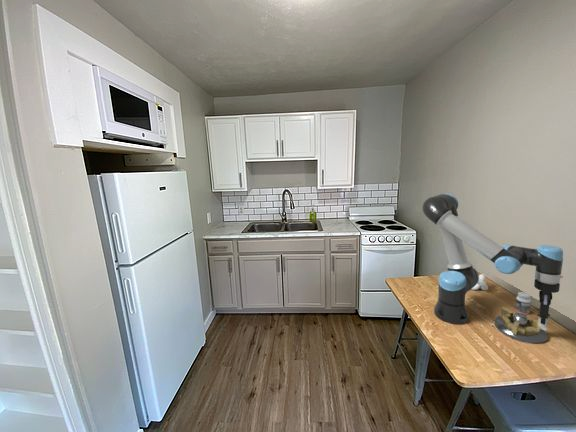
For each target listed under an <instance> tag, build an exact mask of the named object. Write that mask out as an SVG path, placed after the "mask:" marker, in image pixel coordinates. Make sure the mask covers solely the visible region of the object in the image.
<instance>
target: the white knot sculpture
mask: <svg viewBox="0 0 576 432" xmlns="http://www.w3.org/2000/svg"><path fill="white" fill-rule="evenodd" d="M479 289H481V290H482V291H487V290H488V289H489V285H488V284H487V282H486V275H485V274H483V273H481V274H479V281H478V282H477V284H476V285H475V286H474V287H473V288H472V289H470V290H473V291H477V290H479Z"/></svg>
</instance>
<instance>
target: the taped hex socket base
mask: <svg viewBox="0 0 576 432" xmlns="http://www.w3.org/2000/svg"><path fill="white" fill-rule="evenodd" d="M500 316H501V321H502V323H503V325H504V326H505V328H507V329H508V330H511V331H512V333H513V334H515V335H516V334H517V333H519V334H521V335H526V336H531V335H538V334H539V333H540V330H541V329H540V327H539V326H538V320H539V319H535V318H530V317H528V319H527V325H529V327H521V326H520V323H519V322H517V321H515V322H514V324H513V323H511V322H510V321H513V319H514V312H513V311H511V310H510V309H507V308H506V307H501V309H500ZM544 331H545V330H544Z"/></svg>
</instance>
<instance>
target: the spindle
mask: <svg viewBox="0 0 576 432" xmlns="http://www.w3.org/2000/svg"><path fill="white" fill-rule="evenodd" d="M513 313H514V312H513ZM528 318H529V317H528V316H527V314H522V313H519V312H515V313H514V319H513V324H514V322H515V321H517V322H519V323H520V326H521V327H527V319H528Z"/></svg>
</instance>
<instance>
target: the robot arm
mask: <svg viewBox="0 0 576 432" xmlns="http://www.w3.org/2000/svg"><path fill="white" fill-rule="evenodd" d="M458 208H459V201H458V199H457V197H455V196H454V195H452V194H450V193H440V194H437V195H434V196H430V197H428V198H427V199H426V200H424V202H423V204H422V213H423V214H424V216H425V217H426V218H427V219H428V220H430V221H431V223H434V225H436V226H438V227H439V228H438V229H439V231H440V235H441V238H442V241H443V242H442V243H443V245H444V248H445V254H446V256H447V259H448V263H447V265H446V267H447V270H446V271H442V272H441V273H440V274H439V276H438V280H437V281H438V299H437V301H436V303H435V305H434V309H433V314H434V315H435V317H437V318H438V319H439V320H440V321H443V322H446V323H448V324H452V325H463V324H467V322H468V321H469V313H468V311H467V307H466V305H465V304H466V294H467V293H468V292H469V291H470V290H471V289H472V288H473V287H474V286H475V285H476V284H477V282H478V281H479V275H480V274H479V273H478V271H477V270H476V268H474V267H473V264H472V263H471V262H469V261H468V258H467V254H466V251H465V248H464V243H465V244H467V245H468V246H469V247H471V248H473V249H474V250H475V251H476V252H478V253H480V254H481V255H482V256H483V257H485V258H487V259H488V260H489V261H490V262H491V263H493V264H494V266H495V269H496V270H497V271H498V272H499V273H501V274H505V275H513V274H515V273H517V272H519V270H520V269H521V267H523V266H524V265H527V266H532V267H533V266H534V267H535V270H534V271H535V273H534V284H533V285H534V288H535V289H536V290H539V291H538V292H539V293H538V297H539V300H538V301H539V303H540V304H539V311H538V313H537V314H536V316H537V317H538V319H537V320H538V326H539V327H540V329H541V330H545V331H546V332H547V328H548V319H549V317H550V316H551V314H550V313H549V311H550V306H551V304H552V300H553V294H554V293H555V294H556V293H559V292H560V286H561V284H560V282H561V279H563V277H564V276H563V275H562V270H563V261H564V251H563V248H561V247H558V246H554V245H545V244H543V245H538V247H537V248H529V247H523V246H517V245H512V244H511V245H509V244H504V245H502V246H501V245H500V244H498V243H497V242H496V241H494V240H492V239H491V238H489V237H488V236H486V235H485V234H483V233H482V232H481V231H479V230H477V229H475V228H474V227H473V226H471V225H470V224H468V223H467V222H465V221H464V220H462V219H461V218H459V217H458V216H459V214H458ZM463 242H464V243H463Z"/></svg>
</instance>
